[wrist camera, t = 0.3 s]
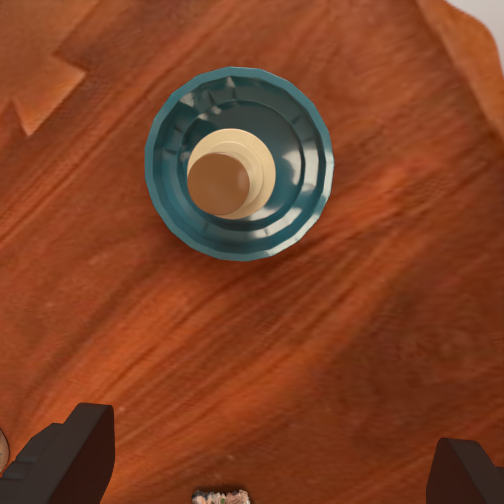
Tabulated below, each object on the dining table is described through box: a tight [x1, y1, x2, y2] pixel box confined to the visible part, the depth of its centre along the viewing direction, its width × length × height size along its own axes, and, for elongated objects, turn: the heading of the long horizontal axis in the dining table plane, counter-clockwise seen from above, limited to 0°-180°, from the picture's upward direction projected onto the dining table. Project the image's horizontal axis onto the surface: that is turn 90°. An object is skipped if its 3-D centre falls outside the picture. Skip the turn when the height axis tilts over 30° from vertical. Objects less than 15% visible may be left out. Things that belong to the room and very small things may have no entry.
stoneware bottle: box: [187, 129, 276, 219], centre depth 24 cm, size 5×5×14 cm
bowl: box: [145, 66, 335, 262], centre depth 29 cm, size 13×13×5 cm
